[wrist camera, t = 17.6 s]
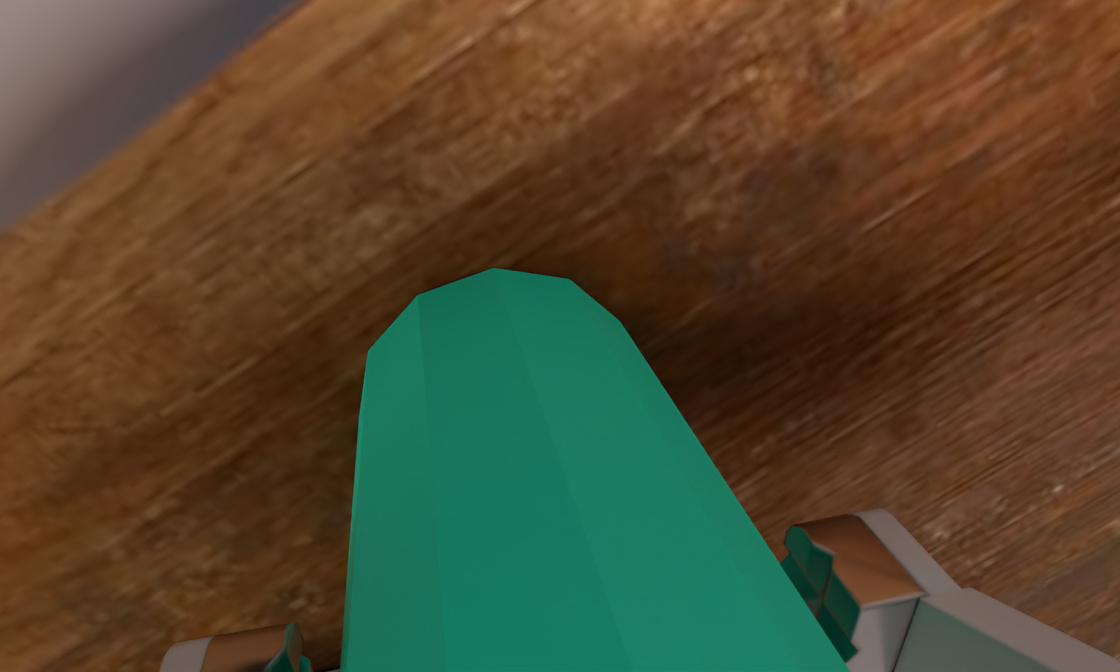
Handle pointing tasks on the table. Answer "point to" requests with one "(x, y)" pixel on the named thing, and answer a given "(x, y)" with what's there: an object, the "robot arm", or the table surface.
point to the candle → (548, 504)
